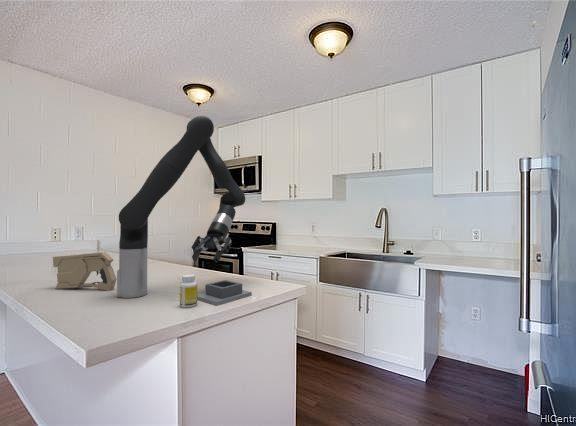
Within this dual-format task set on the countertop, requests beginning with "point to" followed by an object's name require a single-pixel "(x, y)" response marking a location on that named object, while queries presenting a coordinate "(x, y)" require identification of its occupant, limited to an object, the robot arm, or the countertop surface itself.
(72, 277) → the gun
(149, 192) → the robot arm
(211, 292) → the gray socket holder
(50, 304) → the countertop surface
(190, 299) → the supplement bottle
